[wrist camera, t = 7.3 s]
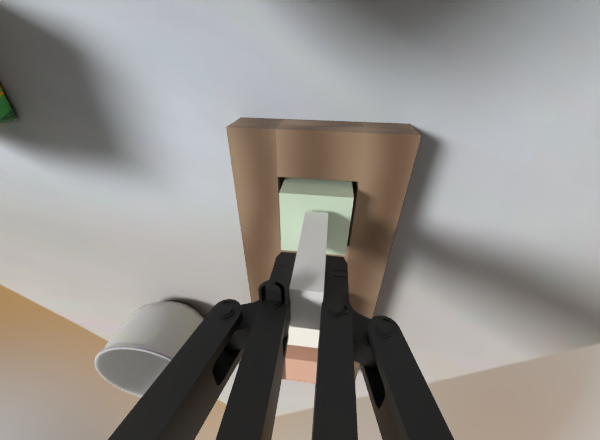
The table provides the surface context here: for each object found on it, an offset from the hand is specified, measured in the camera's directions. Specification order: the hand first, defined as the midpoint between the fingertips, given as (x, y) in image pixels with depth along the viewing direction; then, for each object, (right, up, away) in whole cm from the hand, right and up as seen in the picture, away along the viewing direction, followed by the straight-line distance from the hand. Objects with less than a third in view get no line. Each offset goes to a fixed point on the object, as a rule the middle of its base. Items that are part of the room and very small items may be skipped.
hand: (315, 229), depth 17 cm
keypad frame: (0, -6, +10) cm, 11 cm away
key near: (0, +2, +4) cm, 5 cm away
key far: (0, -14, +15) cm, 21 cm away
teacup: (-17, -13, +18) cm, 28 cm away
